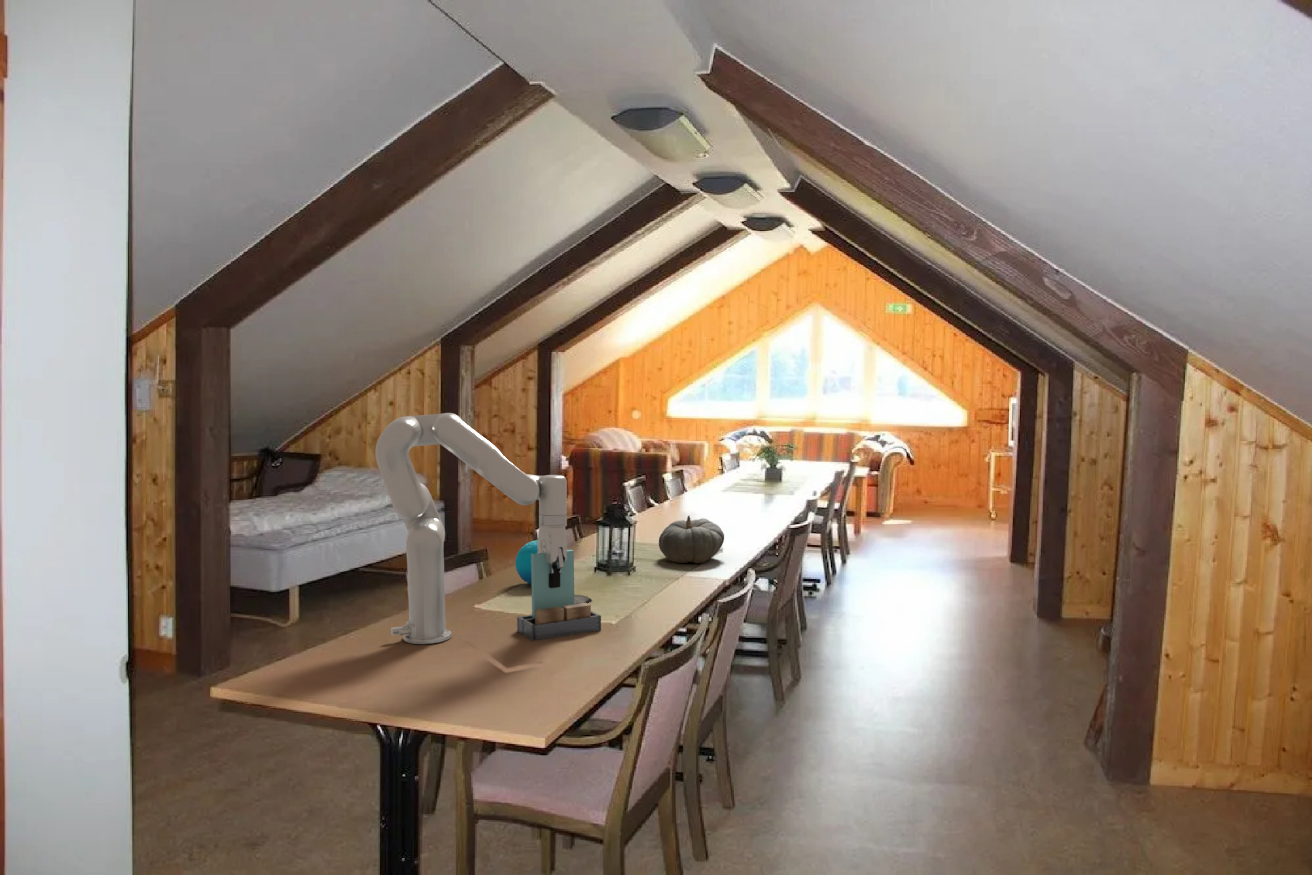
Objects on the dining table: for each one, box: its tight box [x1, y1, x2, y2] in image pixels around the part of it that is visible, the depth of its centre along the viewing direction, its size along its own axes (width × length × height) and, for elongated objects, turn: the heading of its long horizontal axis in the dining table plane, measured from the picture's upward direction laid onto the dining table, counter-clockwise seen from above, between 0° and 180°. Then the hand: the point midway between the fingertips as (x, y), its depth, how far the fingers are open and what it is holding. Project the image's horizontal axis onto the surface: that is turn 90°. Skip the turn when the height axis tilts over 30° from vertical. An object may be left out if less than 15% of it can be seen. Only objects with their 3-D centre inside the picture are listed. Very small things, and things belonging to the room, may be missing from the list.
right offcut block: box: [563, 603, 592, 620], centre depth 256 cm, size 7×3×7 cm, turn 120°
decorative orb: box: [515, 539, 538, 585], centre depth 317 cm, size 15×15×15 cm
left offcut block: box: [535, 607, 564, 625], centre depth 252 cm, size 7×3×7 cm, turn 120°
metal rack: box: [516, 610, 602, 642], centre depth 257 cm, size 20×11×5 cm, turn 120°
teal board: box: [531, 549, 575, 618], centre depth 259 cm, size 12×2×18 cm, turn 120°
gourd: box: [658, 515, 725, 564], centre depth 357 cm, size 25×25×17 cm
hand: (552, 586), depth 259 cm, fingers closed on teal board, 1 cm apart
